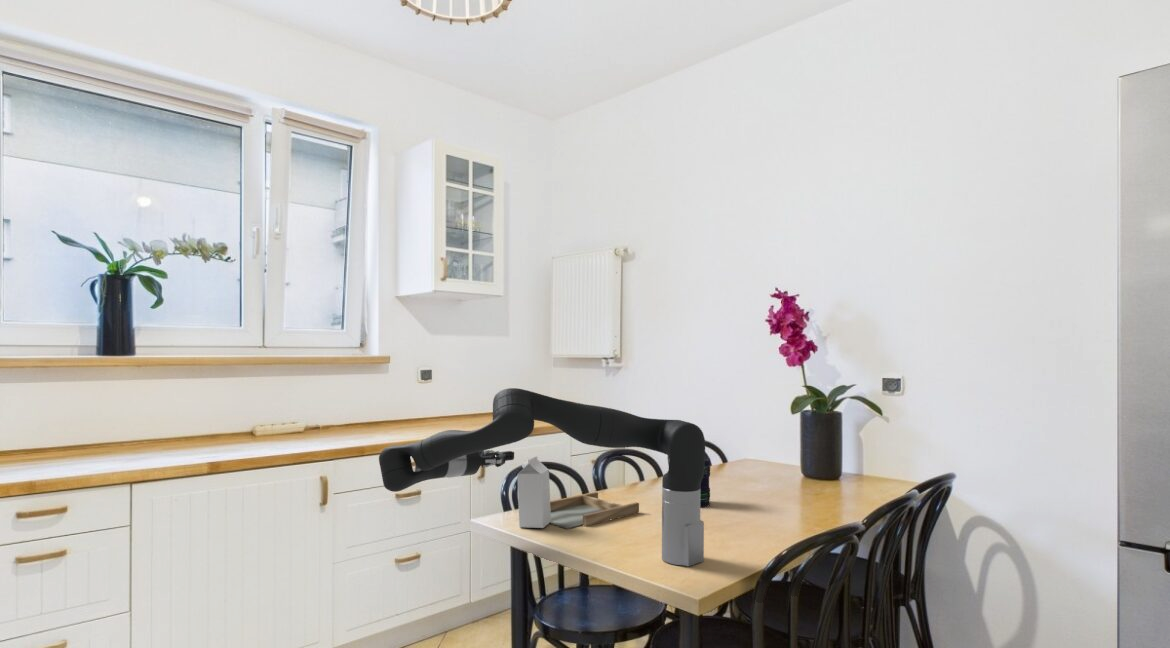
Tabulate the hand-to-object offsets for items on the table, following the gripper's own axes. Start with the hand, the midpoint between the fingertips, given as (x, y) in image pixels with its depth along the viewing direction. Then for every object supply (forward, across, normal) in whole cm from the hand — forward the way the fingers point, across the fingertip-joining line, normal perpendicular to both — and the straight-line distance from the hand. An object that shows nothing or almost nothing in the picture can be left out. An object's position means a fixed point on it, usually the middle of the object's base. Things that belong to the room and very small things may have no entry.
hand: (512, 455), depth 168 cm
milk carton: (+11, +2, +21) cm, 24 cm away
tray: (+30, +2, +21) cm, 37 cm away
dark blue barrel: (+67, -12, +20) cm, 71 cm away
